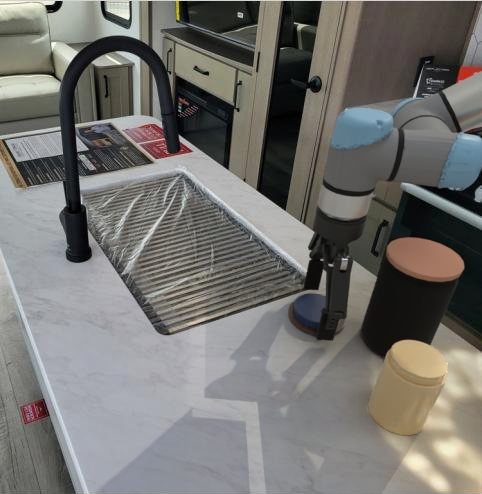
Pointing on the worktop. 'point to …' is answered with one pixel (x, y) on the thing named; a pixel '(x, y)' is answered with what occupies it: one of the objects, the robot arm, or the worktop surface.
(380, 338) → the coffee jar
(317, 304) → the lid
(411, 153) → the robot arm
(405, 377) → the jar
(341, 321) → the coaster
